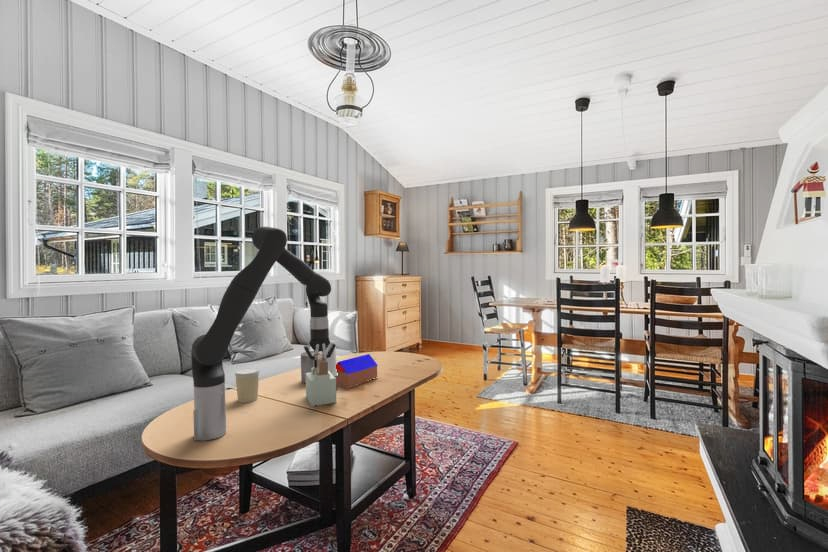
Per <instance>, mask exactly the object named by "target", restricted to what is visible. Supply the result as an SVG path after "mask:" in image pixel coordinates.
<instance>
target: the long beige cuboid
mask: <svg viewBox="0 0 828 552" xmlns="http://www.w3.org/2000/svg"><path fill="white" fill-rule="evenodd" d="M313 356H314V355H313ZM316 365H317V369H316V368H315V367H314V360H313V367H314V368H315V370H316V371H317V373H318V374H319V375H327V374H328V370H329V361H328V360H327V359H324V358H323V356H322V353H321V354H319V355H318V359H317V360H316Z"/></svg>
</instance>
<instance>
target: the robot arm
mask: <svg viewBox="0 0 828 552" xmlns="http://www.w3.org/2000/svg"><path fill="white" fill-rule="evenodd" d="M251 236H252V237H251V242H252V245H253V246H254V247H255V248H256V249H257V250H258V251H257V253H256V254H255V257H254V258H253V259H252V260H251V261H250V263H249V264H247V265H246V266H245V267H244V268H242V269H241V270H240V271H239V272H238V273H236V275H235V276H234V277H233V279H232V280H231V281H230V283H229V285H228V286H227V288H226V290H225V292H224V293H223V296H222V298H221V300H220V301H221V302H220V305H219V307H218V310H217V314H216V317H215V319H214V321H213V322H212V325H211V326H210V327H209V329H208V331H207V332H206V334H203V335H200V336H199V337H197V338H196V339H195V340H194V341H193V342H192V345H191V353H190V355H191V375H192V380H193V405H194V407H193V413H192V414H193V416H192V417H193V441H203V442H204V441H212V440H215V439H218V438H221V437H223V436H224V435H225V434H227V414H226V376H225V371H224V365H223V359H224V357H225V355H226V353H227V350H228V348H229V346H230V344H231V341H232V338H233V337H234V334H235V333H236V330H237V328H238V327H239V325H240V324H241V322H242V320H243V319H244V317H245V315H246V314H247V312H248V311H249V308H250V307H251V305H252V303H253V301H254V300H255V298H256V296H257V294H258V292H259V290H260V288H261V287H262V285H263V283H264V281H265V279H266V278H267V276H268V274H269V273H270V271H271V269H272V268H273V266H274V265H275V263H278V264H279V265H280V266H281V267H283V268H284V269H285V270H286V271H287V272H288V273H289V274H291V275H292V276H293V278H295V279H296V280H297V281H298V282H299V283H300V284H302V285H303V286H305V292H306V293H305V294H306V297H307V300H308V304H309V307H310V308H309V310H310V311H309V312H310V320H309V331H310V334H309V336H310V340H309V343H308V344H307V345H303V349H304V350H305V351H304V352H306V353H307V354H308V356H309V358H310V359H313V360H314V367H315V368H316V369H317V365H316V360H317V359H318V352H321V354H322V356H323V358H324V359H326V360H327V359H328V358H331V356H333V355H332V354H333V352H334V350H335V348H336V343H334V342H331V340H330V336H329V334H330V331H329V330H330V329H329V327H330V325H329V316H328V315H329V314H328V310H329V308H328V304H327V302H324V301H323V300H321V297H326V296H327V297H328V296H329V295H330V294H331V292H332V284H331V282H329V280H328V279H327V278H325V277H324V276H322V275H321V274H319V273H317V272H316V271H314V270H313V269H312V268H311V267H310V265H308V264H307V263H306V262H305V261H304V260H302V259H301V258H300V257H298V256H297V255H295V254H294V253H293V252H291V251H290V250H288V249H287V248H286V247H287V242H288V236H287V233H286V232H285V231H284V230H283V229H280V228H277V227H272V226H260V227H257V228H256V229H255V230H254V231H253V233H252V235H251ZM311 348H312V349H313V350H312V351H314V356H312V355H311V353H310V351H311ZM327 348H329V349H328V351H327Z"/></svg>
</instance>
